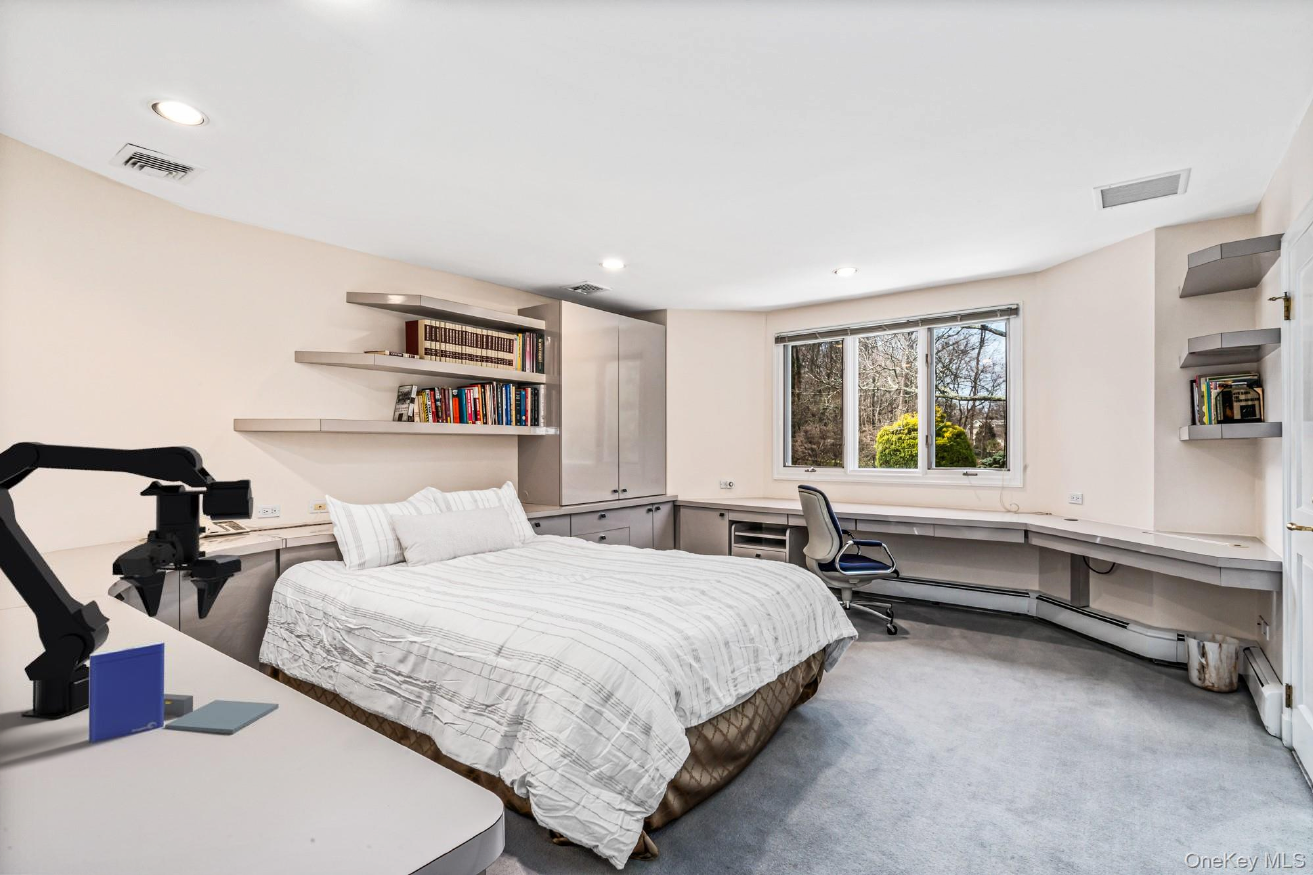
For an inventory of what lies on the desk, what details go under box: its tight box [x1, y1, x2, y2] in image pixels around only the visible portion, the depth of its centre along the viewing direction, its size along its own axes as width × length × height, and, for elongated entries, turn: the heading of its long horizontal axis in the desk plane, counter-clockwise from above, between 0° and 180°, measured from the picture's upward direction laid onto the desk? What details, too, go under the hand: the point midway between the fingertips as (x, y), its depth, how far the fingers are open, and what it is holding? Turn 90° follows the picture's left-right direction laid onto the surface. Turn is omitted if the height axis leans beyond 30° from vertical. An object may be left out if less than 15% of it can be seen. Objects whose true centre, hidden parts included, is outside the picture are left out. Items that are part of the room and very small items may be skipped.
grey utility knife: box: [164, 693, 194, 717], centre depth 98 cm, size 12×2×2 cm, turn 82°
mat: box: [164, 699, 279, 735], centre depth 96 cm, size 11×9×1 cm
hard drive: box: [88, 640, 166, 743], centre depth 90 cm, size 2×8×12 cm, turn 136°
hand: (177, 617), depth 104 cm, fingers open, 9 cm apart
